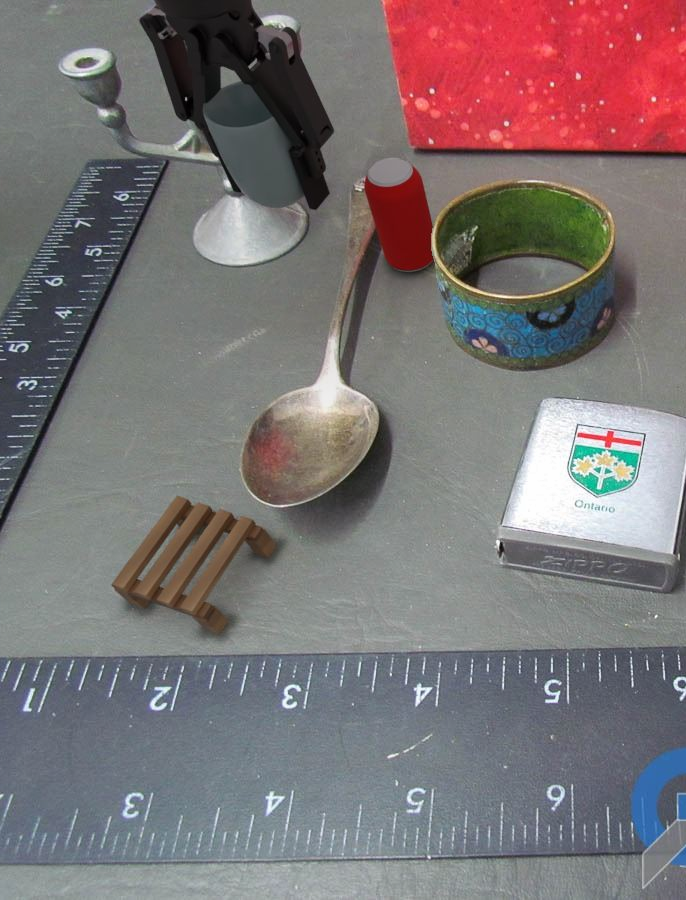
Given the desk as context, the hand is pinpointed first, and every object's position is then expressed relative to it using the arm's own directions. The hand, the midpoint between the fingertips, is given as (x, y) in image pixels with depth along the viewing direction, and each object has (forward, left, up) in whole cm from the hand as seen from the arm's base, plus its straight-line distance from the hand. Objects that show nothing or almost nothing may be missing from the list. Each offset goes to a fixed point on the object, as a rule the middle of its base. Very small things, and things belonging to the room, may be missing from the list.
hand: (281, 192), depth 82 cm
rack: (+8, -35, -13) cm, 38 cm away
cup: (0, 0, -1) cm, 1 cm away
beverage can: (+8, +8, -13) cm, 17 cm away
